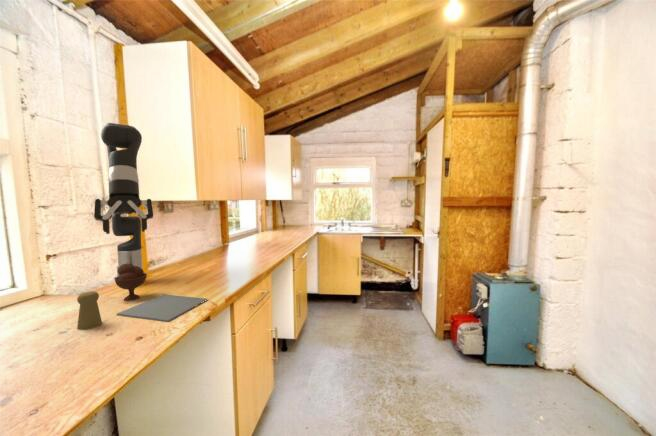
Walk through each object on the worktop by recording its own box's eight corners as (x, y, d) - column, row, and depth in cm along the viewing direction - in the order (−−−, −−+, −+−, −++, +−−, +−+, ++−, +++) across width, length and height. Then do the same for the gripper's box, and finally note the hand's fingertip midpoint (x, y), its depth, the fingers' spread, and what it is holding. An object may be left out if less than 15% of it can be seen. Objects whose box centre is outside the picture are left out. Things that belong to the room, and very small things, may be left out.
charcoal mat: (116, 315, 94) (116, 313, 94) (163, 295, 113) (163, 294, 113) (168, 321, 89) (168, 320, 89) (207, 300, 108) (207, 298, 108)
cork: (101, 319, 90) (99, 288, 90) (102, 325, 86) (101, 292, 85) (77, 325, 86) (74, 292, 85) (77, 331, 82) (75, 297, 81)
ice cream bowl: (131, 304, 103) (129, 267, 102) (108, 302, 105) (106, 265, 104) (153, 295, 114) (152, 261, 113) (132, 293, 116) (131, 259, 115)
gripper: (150, 188, 90) (153, 233, 87) (95, 187, 82) (96, 237, 78) (151, 179, 84) (154, 227, 81) (92, 176, 76) (92, 230, 72)
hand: (126, 232), depth 80 cm, fingers open, 8 cm apart
